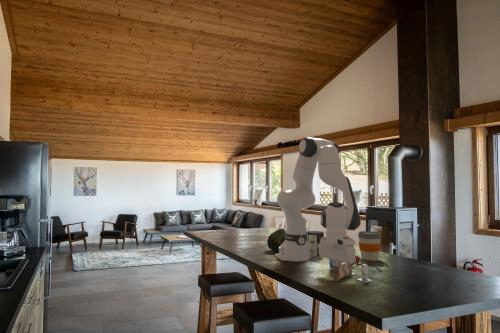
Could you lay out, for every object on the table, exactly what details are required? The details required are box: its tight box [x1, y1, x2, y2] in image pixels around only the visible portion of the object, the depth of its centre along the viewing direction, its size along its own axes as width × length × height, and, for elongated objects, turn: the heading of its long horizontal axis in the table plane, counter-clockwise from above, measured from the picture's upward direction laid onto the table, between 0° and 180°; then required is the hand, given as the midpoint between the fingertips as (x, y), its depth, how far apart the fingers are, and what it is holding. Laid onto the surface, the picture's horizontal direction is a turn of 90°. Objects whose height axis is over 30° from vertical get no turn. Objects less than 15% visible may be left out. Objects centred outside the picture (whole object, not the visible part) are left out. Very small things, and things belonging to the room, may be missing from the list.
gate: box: [333, 262, 353, 282], centre depth 170 cm, size 20×3×6 cm, turn 148°
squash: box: [266, 228, 287, 253], centre depth 239 cm, size 14×15×15 cm
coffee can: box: [306, 230, 325, 259], centre depth 223 cm, size 10×10×14 cm
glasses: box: [352, 255, 390, 273], centre depth 193 cm, size 14×16×5 cm
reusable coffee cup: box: [357, 230, 382, 262], centre depth 214 cm, size 13×13×15 cm
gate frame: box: [346, 263, 374, 284], centre depth 172 cm, size 18×6×7 cm, turn 22°
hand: (336, 270), depth 170 cm, fingers closed
